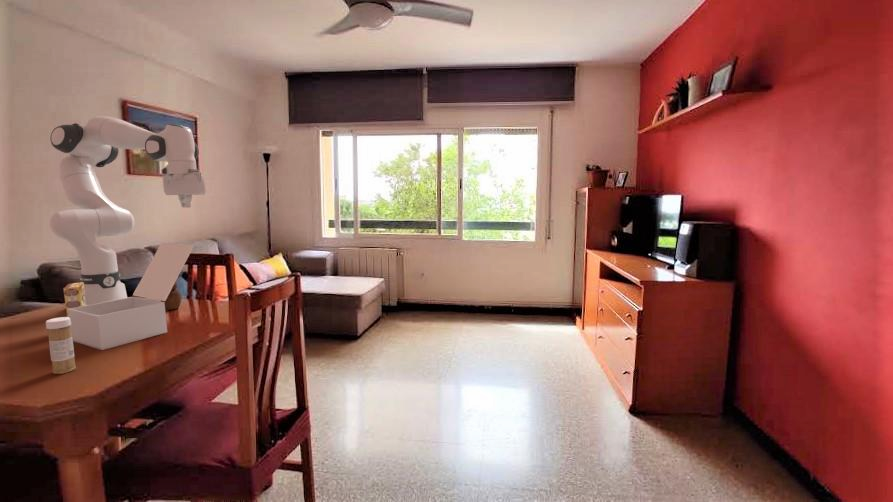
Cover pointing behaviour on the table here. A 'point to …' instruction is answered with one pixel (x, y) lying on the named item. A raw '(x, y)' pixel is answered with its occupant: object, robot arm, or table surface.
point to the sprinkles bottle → (61, 345)
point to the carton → (117, 322)
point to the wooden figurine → (173, 299)
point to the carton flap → (163, 271)
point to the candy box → (74, 296)
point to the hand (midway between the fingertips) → (186, 207)
